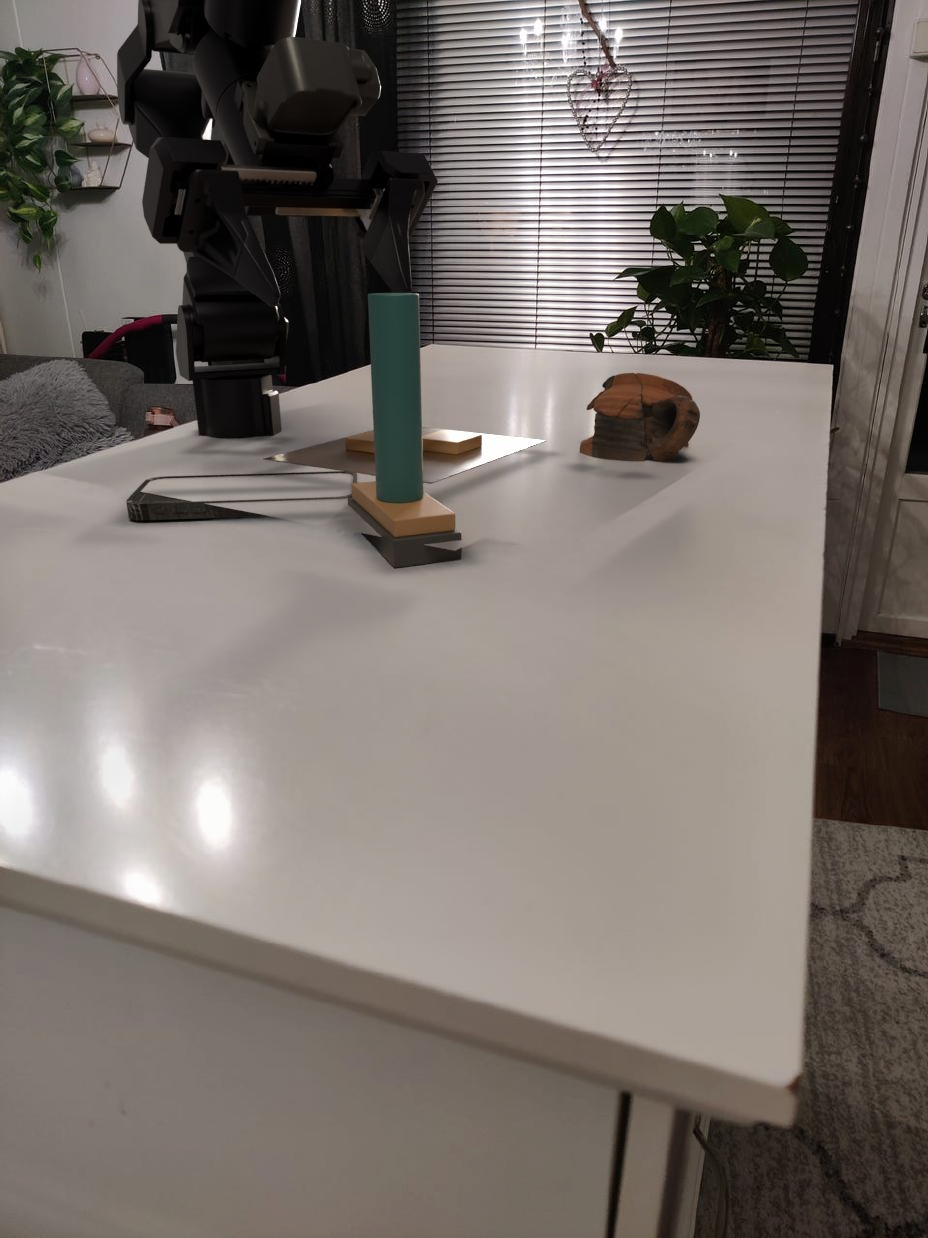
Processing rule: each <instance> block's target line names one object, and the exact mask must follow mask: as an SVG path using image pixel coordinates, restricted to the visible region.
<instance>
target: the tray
mask: <svg viewBox="0 0 928 1238" xmlns="http://www.w3.org/2000/svg"><path fill="white" fill-rule="evenodd" d="M441 430H446V431H455V432H464V433H473V434H482V446H481V447H478V448H475V449H472V450H469V451H466V452H463V453H460V454H457V455H455V454H447V453H439V452H431V451H423V450H422V451H423V484H431V485H433V484H434V483H435V484H436V483H437V482H441V481H443V480H446V479H449V478H451V477H454V476H456V475H460V474H461V473H464V472H468V471H469V470H472V469H475V468H478V467H480V466H483V465H486V464H488V463H491V462H494V461H497V460H499V459H502V458H505V457H507V456H510V455H513V454H515V453H518V452H521V451H524V450H527V449H529V448H533V447H535V446H537V445H541V444H543V443H545V442H547V440H545V439H544V440H543V439H536V438H526V437H517V436H509V435H499V434H488V433H481V432H480V433H479V432H471V431H463V430H454V429H453V430H452V429H444V428H443V429H442V428H434V427H425V426H422V436H424V435H427V434H431V433H434V432H437V431H441ZM370 431H374V429H372V430H369V431H364V432H360V433H357V434H353V435H349V436H345V437H342V438H337V439H334V440H329V441H327V442H323V443H318V444H314V445H311V446H307V447H303V448H298V449H296V450H291V451H287V452H284V453H280V454H276V455H272V456H268V457H265V458H264V457H263V460H267V461H272V462H280V463H285V464H292V465H293V464H294V465H300V466H305V467H314V468H318V469H319V468H320V469H321V468H322V469H326V470H333V471H350V472H355V473H356V474H361V475H370V476H375V477H376V474H375V453H367V452H360V451H352V450H346V446H345V438H347V437H351V436H354V435H358V434H362V433H366V432H370Z"/></svg>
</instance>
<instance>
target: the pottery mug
mask: <svg viewBox="0 0 928 1238" xmlns="http://www.w3.org/2000/svg"><path fill="white" fill-rule="evenodd" d="M602 388H603V391H600V392H599V393H598V394H597V395H596V396H595V397H594V398H593V399H592V400H591V401H590V402H589V403H588V404H587V406H586V409H585V410H586V411H590V410H593V411H594V412H595V415H594V426H593V429H594V431H593V435H592V436H589V437H588V438H587V439H584V440H582V441H581V442H580V445H579V453H580V454H582V455H584V456H588V457H591V458H594V459H600V460H606V461H618V462H645V461H646V457H647V454H648V453H650V455H651V457H652V459H653V460H654V461H655V462H669V461H675V460H676V458H677V456H678V454H679V452H680V451H681V450H683V448H684V447H685V448H687V447H689V445H690V444H689V442H690V441H691V440H692V438H693V436H694V435H695V433H696V431H697V429H698V427H699V424H700V419H701V411H700V409H699V407H698V405H697V403H696V401H695V400H694V399H693V396H692V394H691V392H689V391H688V390H687V388H685V386H683V385H682V384H679V383H677V382H676V381H673V380H671V379H667V378H665V377H662V376H659V375H655V374H648V373H642V372H636V373H635V372H624V373H619V374H614V375H611V376H610V377H607V378H606V379H605V381H604V382H603V383H602Z"/></svg>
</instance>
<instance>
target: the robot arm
mask: <svg viewBox="0 0 928 1238" xmlns="http://www.w3.org/2000/svg"><path fill="white" fill-rule="evenodd" d="M301 3H302V0H138V2H137V24H136V26H135V27H134V29H133V30H132V31H131V33H130V34H129V35H128V37H126V39H125V41H123V43H122V45H121V46H120V47H119V49H117V53H116V93H117V94H116V95H117V104H118V110H119V116H120V120H121V123H122V125H124V126H125V125H126V126H128V131H129V133H130V135H131V136H130V137H131V139H132V141H133V144H134V148H135V150H136V151H138V152H139V153H140V154H142V155H143V156H144V157H146V158H147V159H148V160H147V166H146V173H145V180H144V187H143V194H142V199H141V203H142V212H143V218H144V220H145V223H146V225H147V228H148V230H149V233H150V236H151V238H152V239H154V240H155V241H156V242H157V243H158V244H160V245H161V244H162V245H176V246H177V248H178V250H179V251H181V252H183V253H182V254H183V256H184V260H185V263H186V272H185V274H184V276H183V280H182V281H183V282H182V283H183V284H182V302H181V304H179V305H178V306H177V317H176V318H177V321H176V339H175V340H176V341H175V355H176V361H177V367H178V373H179V376H180V377H182V379H185V380H186V381H188V382H192V388H193V398H194V406H195V415H196V423H197V429H198V430H197V432H198V436H199V437H200V436H201V437H208V438H212V439H220V440H221V439H223V440H238V439H239V440H240V439H251V438H265V437H274V436H277V435H278V434H279V433H281V432H283V431H282V430H283V429H282V417H281V416H282V415H281V406H280V395H279V393H280V392H278V391H277V390H274V389H273V378H272V377H273V376H278V377H279V376H285V374H287V347H288V344H287V341H288V335H289V328H290V327H289V326H290V323H289V320H288V319H287V318H286V317H285V314H284V310H283V307H282V305H281V304H280V303H279V302H280V299H281V291H280V288H279V285H278V282H277V279H276V275H275V273H274V270H273V268H272V266H271V264H270V262H269V260H268V258H267V255H266V253H265V251H264V248H263V247H262V245H261V243H260V240H259V239H258V236H257V234H256V232H255V230H254V228H253V225H252V223H251V221H250V219H249V217H294V218H295V217H297V218H301V217H303V218H309V217H310V218H312V217H313V216H316V217H317V216H318V217H319V216H320V217H321V216H322V217H323V216H324V217H351V218H350V219H351V225H352V227H353V230H354V232H355V234H356V236H358V237H359V238H360V239H363V240H362V242H361V244H360V249H361V251H362V252H363V254H364V255H365V257H366V258H367V259H368V261H369V262H370V263H371V265H372V266H373V268H374V269H375V271H377V273H378V274H379V275H380V277H381V279H382V280H383V282H384V283H385V284H386V285H387V286H388V288H389V290H390V291H391V293H412V289H413V286H412V285H413V284H412V273H411V271H412V270H411V259H410V258H411V257H410V244H409V243H410V242H409V240H410V239H411V238H412V237H413V234H414V231H415V230H416V228H417V226H418V223H419V222H420V220H421V217H422V216H423V213H424V211H425V209H426V207H427V205H428V203H429V201H430V199H431V197H432V195H433V193H434V190H435V189H436V186H437V184H438V183H439V180H438V179H437V177H436V175H435V173H434V171H433V169H432V167H431V165H430V163H429V161H428V159H427V157H426V155H425V153H419V152H404V151H389V150H376V151H371V152H370V154H369V157H368V159H367V162H366V164H365V167H364V170H363V172H362V175H361V177H360V178H351V177H350V178H348V177H334V176H335V175H334V169H333V166H332V163H333V162H332V161H333V160H340V158H341V155H342V152H343V150H344V147H345V141H344V139H343V138H342V135H341V134H340V130H341V128H342V127H343V126H344V124H345V123H346V121H347V120H348V119H349V118H350V117H351V116H359V117H360V116H361V117H365V116H366V115H367V114H368V113H369V112H370V110H371V109H372V108H373V106H374V105H375V104H376V102H377V101H378V100H379V98H380V96H381V89H382V86H381V81H380V78H379V77H380V76H379V74H378V73H379V72H378V70H377V67H376V65H375V63H374V62H373V60H372V59H371V58H370V56H369V54H368V53H367V52H366V50H364V49H357V48H350V47H349V46H347V45H346V44H345V43H342V42H336V41H328V40H322V39H321V40H320V39H314V38H308V37H301V36H300V37H299V36H296V33H297V28H298V21H299V14H300V10H301V9H300V8H301ZM153 52H157V53H166V54H167V53H169V54H180V55H188V56H189V55H190V56H193V58H192V59H193V61H192V63H193V64H192V65H193V66H192V67H193V71H194V72H188V71H187V72H186V71H177V70H175V71H174V70H162V69H152V68H151V69H149V68H146V67H147V66H148V64H149V63H150V62H151V61H152V58H153ZM216 125H217V127H218V130H219V132H220V135H221V136H222V139H223V142H222V140H221V139H220V140H219V139H212V130H214V129H215V126H216ZM253 360H254V361H256V360H263V362H257V363H237V364H235V363H234V364H219V365H202V366H201V365H200V366H195V363H196V362H198V363H199V362H200V363H213V362H214V363H215V362H237V361H253Z"/></svg>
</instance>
